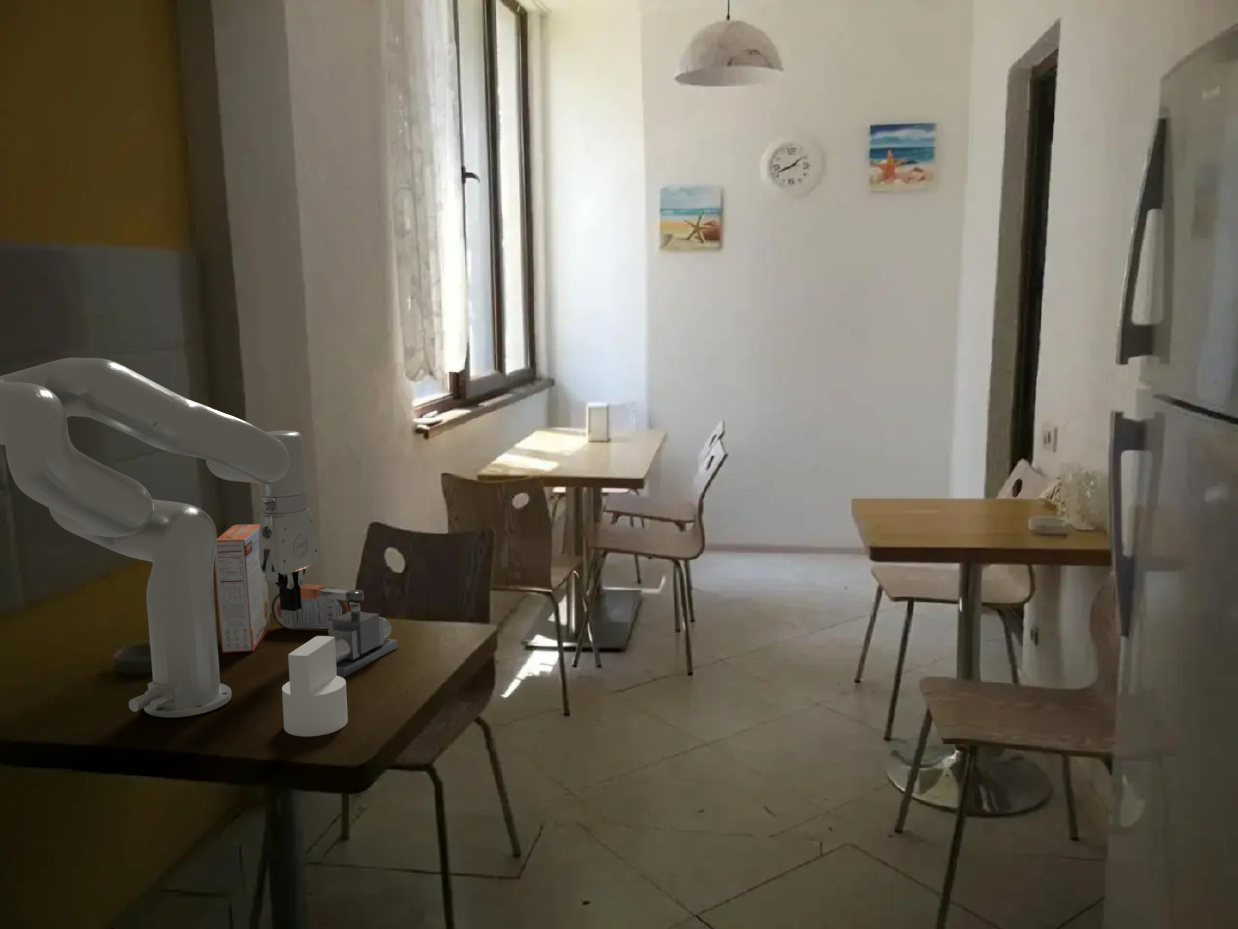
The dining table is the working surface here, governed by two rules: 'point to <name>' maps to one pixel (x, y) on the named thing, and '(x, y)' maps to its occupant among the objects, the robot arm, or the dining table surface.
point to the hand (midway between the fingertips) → (291, 609)
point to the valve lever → (330, 593)
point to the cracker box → (241, 589)
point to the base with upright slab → (314, 690)
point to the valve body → (360, 639)
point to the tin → (310, 613)
